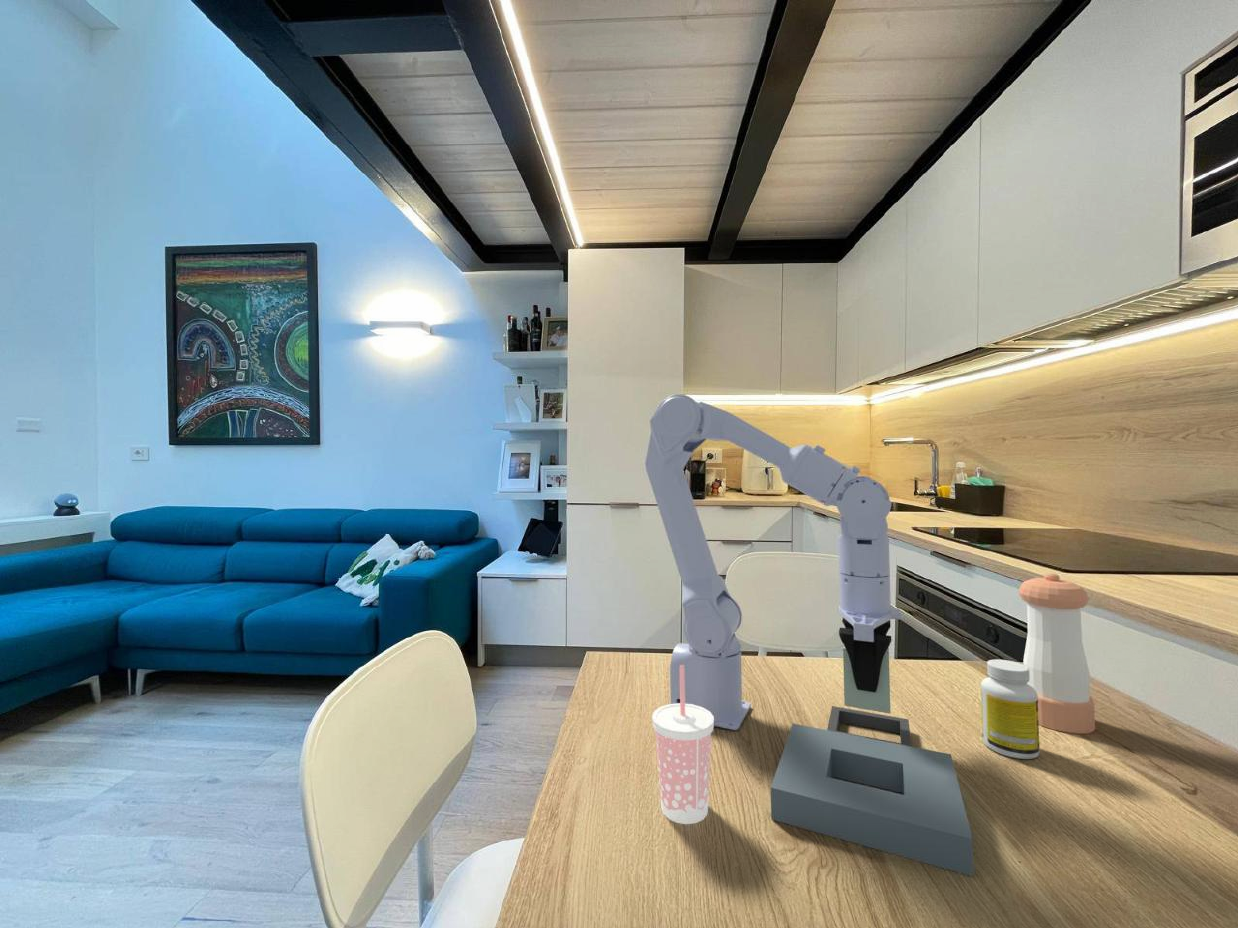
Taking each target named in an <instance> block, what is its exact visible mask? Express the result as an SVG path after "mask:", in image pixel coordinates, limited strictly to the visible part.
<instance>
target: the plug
mask: <svg viewBox="0 0 1238 928" xmlns="http://www.w3.org/2000/svg"><path fill="white" fill-rule="evenodd" d="M842 659H843V660H842V661H843V665H842V666H843V688H844V689H843V691H844V692H843V694H844V695H843V696H844V698H843V699H844V700H843V702H844V706H845V707H849V708H850V707H851V708H856V709H861V710H867V711H871V712H872V711H873V712H878V713H883V714H891V685H890V684H891V681H890V680H891V679H890V677H891V676H890V649H889V647H888V649H887V650H886V652H885V655H884V657H883V660H882V664H881V669H880V676H879V682H878V687H877V690H876V692H868V691H862V690H858V689H857V687H856V684H855V681H854V676H853V672H852V667H851V662H850V659H849V655H848V653H847V650H846V648H845V646H844V645H843V648H842Z"/></svg>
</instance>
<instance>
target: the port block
mask: <svg viewBox="0 0 1238 928" xmlns="http://www.w3.org/2000/svg"><path fill="white" fill-rule="evenodd" d="M839 732H840V731H839ZM839 732H834V731H829V730H827V729H822V728H817V727H814V726H813V727H812V726H808V725H803V724H799V723H792V725H791V727H790V731H789V733H788V737H787V740H786V742H785V744H784V748H783V750H782V752H781V757H780V759H779V761H778V766H777V767H776V770H775V774H774V776H773V778H772V779H773V780H772V783H771V785H770V820H772V821H776V822H779V823H783V824H787V825H789V826H793V827H798V828H800V829H805V830H807V831H812V832H814V833H819V834H822V835H825V836H829V837H833V838H835V839H838V840H842V841H846V842H850V843H853V844H857V845H861V846H863V847H868V848H870V849H875V850H879V851H882V852H885V853H889V854H893V855H896V856H899V857H903V858H906V859H910V860H914V861H917V862H920V863H924V864H928V865H931V866H935V867H938V868H942V869H945V870H949V871H952V872H956V873H960V874H963V875H965V876H966V875H967V876H970V877H973V878H974V875H975V873H974V872H975V870H974V849H973V848H974V846H973V845H974V843H973V836H972V832H971V828H970V823H969V820H968V816H967V813H966V808H965V803H964V800H963V797H962V793H961V787H960V784H959V780H958V777H957V773H956V769H955V763H954V760H953V756H952V754H950V753H945V752H941V751H940V752H939V751H937V750H936V751H935V750H930V749H926V748H921V747H920V748H919V747H915V746H912V747H911V746H906V745H901V744H896V743H897V742H896V743H890V742H885V741H880V740H881V739H880V740H875V739H876V738H875V739H870V738H871V737H870V738H865V737H866V736H865V737H860V736H861V735H860V736H855V735H856V734H855V735H850V734H851V733H850V734H844V733H839ZM840 779H841V780H840ZM854 782H855V783H854ZM875 787H876V788H875ZM884 789H885V790H884ZM896 792H897V793H896Z"/></svg>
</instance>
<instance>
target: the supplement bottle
mask: <svg viewBox="0 0 1238 928" xmlns="http://www.w3.org/2000/svg"><path fill="white" fill-rule="evenodd" d="M986 669H987V675H988V676H989V677H986V678H984V679H983V680H982V681H981V684H980V697H981V698H980V700H981V701H980V703H981V704H980V705H981V707H980V708H981V733H982V734H981V736H982V737H981V738H982V741H983V742H982V743H984V745H986V747H988V748H989V749H990V750H992V751H994V752H996V753H998V754H1000V755H1003V756H1005V757H1009V758H1015V759H1020V760H1031V759H1032V760H1033V759H1036V758H1037V757H1039V756H1040V729H1039V727H1040V725H1039V721H1038V697H1037V693H1036V691H1035V690H1034V688H1033V687H1031V686H1030V685H1028V684H1027V682H1029V679H1030V676H1029V668H1028V667H1027V666H1025V665H1024V663H1020V662H1017V661H1013V660H1006V659H989V660H987V666H986Z"/></svg>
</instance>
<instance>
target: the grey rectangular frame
mask: <svg viewBox="0 0 1238 928" xmlns="http://www.w3.org/2000/svg"><path fill="white" fill-rule="evenodd" d="M841 723H844V724H849V725H854V726H860V727H864V728H871V729H876V730H882V731H887V732H892V733H897V734H899V735H900V736H899V737H900V742H895V741H891V740H890V741H889V740H885V739H880V738H875V737H871V736H870V737H869V736H863V735H860V734H859V735H858V734H854V733H849V732H843V731H839V730H840V725H841ZM826 730H829V731H834V732H839V733H844V734H850V735H855V736H860V737H865V738H870V739H875V740H880V741H885V742H890V743H896V744H901V745H906V746H911V747H913V746H912V738H911V730H910V722H909V718H904V717H903V718H902V717H897V716H891V715H887V714H880V713H874V712H869V711H862V710H856V709H851V708H846V707H840V706H834V705H832V706H831V708H830V715H829V719H828V724H827V727H826Z"/></svg>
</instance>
